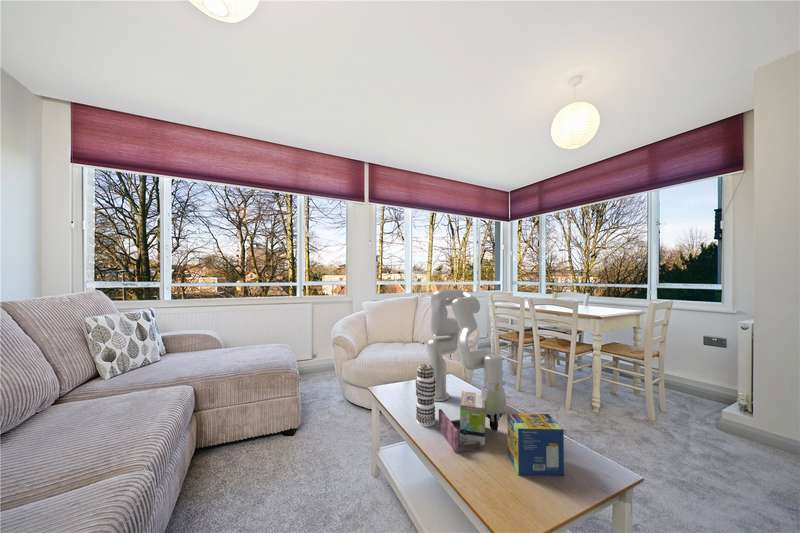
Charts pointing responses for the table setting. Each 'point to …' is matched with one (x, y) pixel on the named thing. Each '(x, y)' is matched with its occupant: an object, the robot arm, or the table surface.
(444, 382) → the robot arm
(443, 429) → the stand
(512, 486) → the table surface
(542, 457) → the protein box
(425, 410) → the decorative candle
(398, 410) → the table surface
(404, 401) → the table surface
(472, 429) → the tea box
